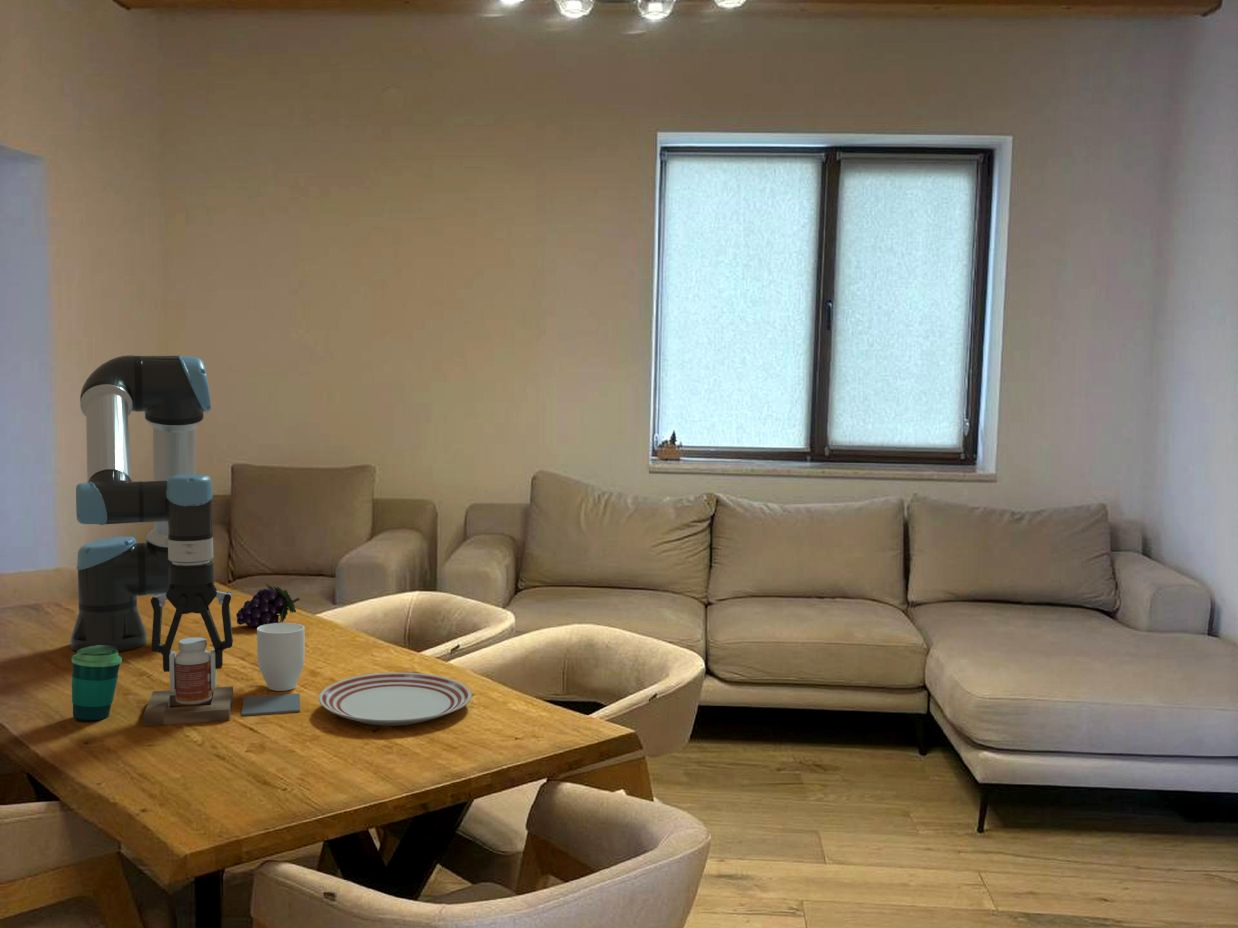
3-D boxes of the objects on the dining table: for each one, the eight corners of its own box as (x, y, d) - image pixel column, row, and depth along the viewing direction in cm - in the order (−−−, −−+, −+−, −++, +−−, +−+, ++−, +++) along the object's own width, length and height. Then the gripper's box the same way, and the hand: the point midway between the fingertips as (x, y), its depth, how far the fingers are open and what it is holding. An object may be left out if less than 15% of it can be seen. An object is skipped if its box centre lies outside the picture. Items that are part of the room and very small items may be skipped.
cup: (73, 711, 198) (71, 646, 197) (123, 706, 202) (121, 642, 200) (71, 725, 191) (69, 657, 190) (122, 720, 194) (121, 653, 193)
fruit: (238, 637, 263) (297, 614, 271) (251, 640, 254) (311, 616, 262) (224, 597, 261) (284, 575, 270) (236, 598, 253) (298, 575, 261)
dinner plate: (496, 697, 212) (496, 680, 211) (425, 744, 186) (425, 724, 186) (371, 681, 221) (371, 665, 220) (287, 723, 195) (287, 705, 195)
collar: (153, 701, 205) (153, 691, 204) (233, 696, 209) (233, 686, 208) (143, 726, 191) (143, 715, 191) (229, 720, 195) (228, 709, 195)
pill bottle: (215, 702, 199) (214, 642, 198) (179, 707, 196) (178, 646, 195) (207, 693, 204) (206, 634, 203) (172, 698, 201) (171, 638, 200)
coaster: (244, 698, 207) (244, 696, 207) (299, 695, 210) (299, 693, 210) (241, 715, 198) (241, 713, 198) (299, 711, 200) (299, 709, 200)
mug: (313, 688, 214) (313, 627, 213) (270, 697, 208) (270, 635, 207) (284, 675, 223) (284, 616, 222) (243, 683, 217) (242, 623, 216)
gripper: (129, 567, 191) (133, 697, 194) (246, 563, 197) (248, 689, 199) (135, 559, 198) (138, 684, 201) (248, 555, 204) (250, 677, 206)
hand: (193, 687), depth 200 cm, fingers closed on pill bottle, 6 cm apart
